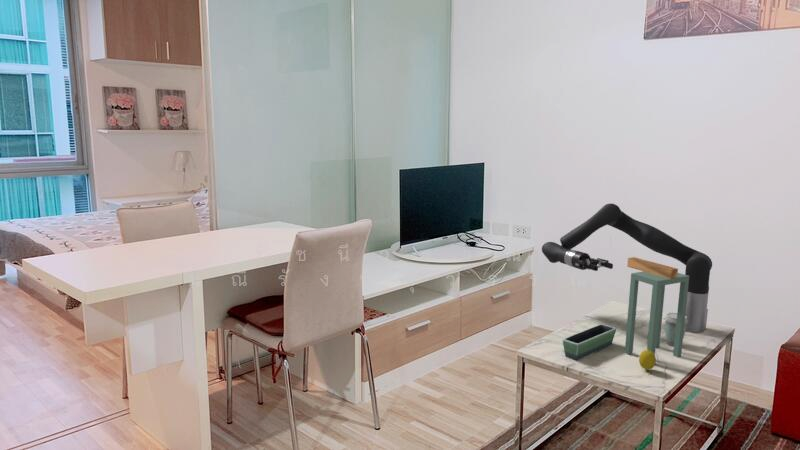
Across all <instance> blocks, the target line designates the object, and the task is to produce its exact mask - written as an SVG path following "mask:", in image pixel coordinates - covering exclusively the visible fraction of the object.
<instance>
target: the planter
mask: <svg viewBox="0 0 800 450" xmlns="http://www.w3.org/2000/svg"><path fill="white" fill-rule="evenodd" d="M616 331H617V328H616V327H614V326H610V325H607V324H603V323H600V324H597V325H593V326H592V327H589V328H587V329H584V330H582V331H580V332H577V333H574V334H572V335H569V336H567V337H565V338H562V346H563V352H564V356H565V357H566V358H568V357H569V359H571V358H572V359H571V360H574V361H578V360H580V359H581V360H582V359H583V358H585V356H586V357H588V356H590V355H592V354H595V353H596V352H599V351H602V349H605V348H607V347H610V346H612V343H613V341H614V338H615V335H616Z"/></svg>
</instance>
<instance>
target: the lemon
mask: <svg viewBox="0 0 800 450" xmlns="http://www.w3.org/2000/svg"><path fill="white" fill-rule="evenodd" d="M638 362H639V365H640V366H641V368H642V369H644V371H648V370H652V369H653V368H654V367H655V365H656V362H657V360H656V353H655V354H654V353H653V352H652V351H650V350H649V349H647V348H646V349H644V350H642V351H641V352H640V354H639V357H638Z"/></svg>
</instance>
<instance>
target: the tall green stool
mask: <svg viewBox="0 0 800 450" xmlns="http://www.w3.org/2000/svg"><path fill="white" fill-rule="evenodd" d="M640 282H641V283H645V284H649V285H650V286H651V285H652V289H651V300H650V311H649V324H648V336H647V343H646V344H647V346H646V350H647V349H649V350H650V351H652V352H653V353H654V354H655V355H656V349H658V348H660V346H661V345H660V344H661V343H660V342H661V334H662V333H661V332H662V322H663V314H664V313H663V312H664V302H665V292H666V291H665V290H666V286H667V285H668V286H669V285H673V284H674V285H675V284H679V292H678V293H679V294H678V304H677V312H676V313H677V322H676V332H675V342H674V346H673V352H672V355H673V357H675V358H681V357H682V354H683V353H682V352H683V344H684V342H683V341H684V338H683V334H684V335H685V333H684V324H685V314H686V304H687V294H688V284H689V276H688V275H685V273H684V274H683V273H680V272H678V274H677V278H674V279H669V278H665V277H662V276H658V275H655V274H651V273H648V272H644V271H637V272H632V273H631V274H630V285H629V295H628V296H629V299H628V306H627V308H628V309H627V321H626V330H625V331H626V332H625V333H626V334H625V343H624V344H625V345H624V354H626V355H633V352H634V351H633V350H634V341H635V330H636V317H637V306H638V305H637V303H638V293H639V283H640Z"/></svg>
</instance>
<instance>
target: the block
mask: <svg viewBox="0 0 800 450" xmlns="http://www.w3.org/2000/svg"><path fill="white" fill-rule="evenodd" d="M626 265H627V268H630V269H634V270H638V271H640V272H643V271H644V272H648V273H651V274H655V275H658V276H662V277H665V278H669V279H674V278H677V274H678V273H679V272H678V271H679V268H676V267H673V266H669V265H665V264H661V263H658V262H654V261H651V260H647V259H644V258H643V259H642V258H639V257H635V256H633V257H628V258H627V264H626Z"/></svg>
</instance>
